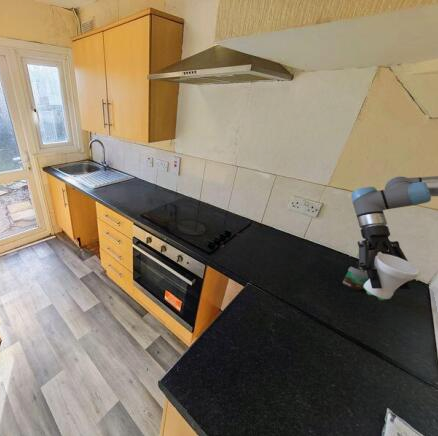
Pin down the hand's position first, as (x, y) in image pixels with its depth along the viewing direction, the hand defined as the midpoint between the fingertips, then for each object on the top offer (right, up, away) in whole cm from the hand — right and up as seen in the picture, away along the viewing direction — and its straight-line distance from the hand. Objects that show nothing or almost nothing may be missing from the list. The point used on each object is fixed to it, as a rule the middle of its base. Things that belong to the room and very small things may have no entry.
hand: (391, 288), depth 79 cm
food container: (+8, -6, +22) cm, 24 cm away
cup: (0, -3, +5) cm, 6 cm away
